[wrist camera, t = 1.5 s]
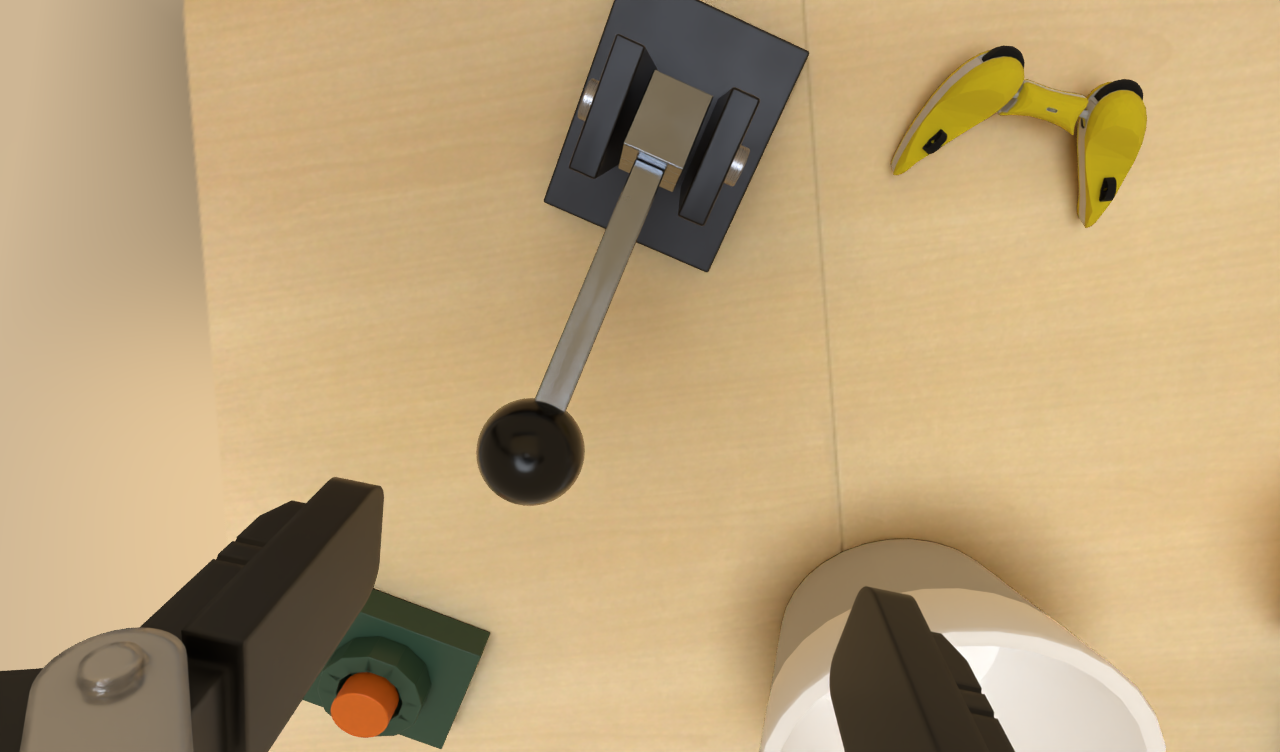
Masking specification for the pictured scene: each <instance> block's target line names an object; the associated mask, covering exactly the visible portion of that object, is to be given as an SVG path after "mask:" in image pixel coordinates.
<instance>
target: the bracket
mask: <svg viewBox="0 0 1280 752" xmlns="http://www.w3.org/2000/svg"><path fill="white" fill-rule="evenodd" d="M808 55H809V52H808V51H807V50H805V49H802V48H800V47H798V46H796V45H794V44H792V43H790V42H787V41H785V40H783V39H781V38H779V37H777V36H775V35H772V34H770V33H768V32H766V31H764V30H762V29H760V28H757V27H755V26H753V25H751V24H749V23H747V22H745V21H742V20H740V19H738V18H736V17H734V16H732V15H730V14H727V13H725V12H723V11H721V10H719V9H717V8H715V7H712V6H710V5H708V4H706V3H704V2H702V1H700V0H614V3H613V6H612V8H611V11H610V14H609V17H608V20H607V23H606V25H605V28H604V31H603V34H602V37H601V40H600V42H599V45H598V48H597V51H596V54H595V57H594V59H593V62H592V65H591V68H590V71H589V74H588V76H587V79H586V82H585V85H584V88H583V91H582V93H581V96H580V99H579V102H578V105H577V108H576V110H575V113H574V116H573V119H572V122H571V125H570V127H569V130H568V133H567V136H566V139H565V142H564V144H563V147H562V150H561V153H560V156H559V159H558V161H557V164H556V167H555V170H554V173H553V176H552V178H551V181H550V184H549V187H548V190H547V193H546V195H545V198H544V202H545V203H547V204H549V205H552V206H554V207H556V208H559V209H561V210H563V211H565V212H568V213H570V214H572V215H575V216H577V217H579V218H582V219H584V220H586V221H589V222H591V223H593V224H596V225H598V226H600V227H603V228H605V229H606V228H607V226H608V223H609V221H610V218H611V216H612V214H613V211H614V209H615V207H616V204H617V202H618V199H619V197H620V195H621V192H622V190H623V187H624V185H625V183H626V180H627V178H628V176H629V173H628V172H626V171H623V170H621V169H619V168H618V165H619V160H620V155H621V150H622V145H623V141H624V139H625V137H626V134H627V132H628V130H629V127H630V125H631V122H632V120H633V118H634V115H635V113H636V111H637V108H638V106H639V104H640V101H641V99H642V96H643V94H644V92H645V89H646V87H647V85H648V82H649V80H650V77H651V75H652V73H653V71H654V70H658V71H660V72H662V73H664V74H666V75H669V76H671V77H673V78H675V79H677V80H680V81H682V82H684V83H686V84H688V85H690V86H693V87H695V88H697V89H699V90H701V91H704V92H706V93H708V94H710V95H712V96H713V100H712V102H711V105H710V107H709V109H708V112H707V114H706V117H705V119H704V122H703V124H702V126H701V129H700V131H699V134H698V136H697V139H696V141H695V143H694V146H693V148H692V151H691V153H690V155H689V158H688V160H687V163H686V165H685V168H684V170H683V172H682V174H681V176H680V178H679V180H678V182H677V184H676V187H675V189H674V191H673V192H671V191H669V190H667V189H664V188H662V187H660V186H659V188H658V190H657V192H656V195H655V197H654V200H653V202H652V204H651V207H650V209H649V212H648V214H647V216H646V219H645V221H644V224H643V226H642V229H641V231H640V233H639V236H638V238H637V241H636V242H637V243H640V244H642V245H644V246H647V247H649V248H651V249H653V250H656V251H658V252H660V253H663V254H665V255H667V256H670V257H672V258H674V259H677V260H679V261H681V262H684V263H686V264H688V265H691V266H693V267H695V268H698V269H700V270H702V271H704V272H708V271H709V269H710V267H711V265H712V263H713V261H714V259H715V256H716V254H717V252H718V250H719V248H720V246H721V243H722V241H723V239H724V237H725V235H726V233H727V230H728V228H729V226H730V224H731V222H732V220H733V217H734V215H735V213H736V211H737V209H738V207H739V204H740V202H741V200H742V198H743V196H744V194H745V191H746V189H747V187H748V185H749V183H750V181H751V179H752V176H753V174H754V172H755V170H756V168H757V166H758V163H759V161H760V159H761V157H762V155H763V153H764V150H765V148H766V146H767V144H768V142H769V140H770V137H771V135H772V133H773V131H774V129H775V127H776V124H777V122H778V120H779V118H780V116H781V114H782V111H783V109H784V107H785V105H786V103H787V101H788V99H789V96H790V94H791V92H792V90H793V88H794V86H795V83H796V81H797V79H798V77H799V75H800V73H801V70H802V68H803V66H804V64H805V62H806V60H807V57H808Z"/></svg>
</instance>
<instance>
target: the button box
mask: <svg viewBox="0 0 1280 752" xmlns="http://www.w3.org/2000/svg"><path fill="white" fill-rule="evenodd" d="M489 635H490V632H487V631H484V630H482V629H479V628H476V627H474V626H471V625H468V624H466V623H463V622H460V621H458V620H455V619H452V618H450V617H447V616H444V615H442V614H439V613H436V612H434V611H431V610H428V609H426V608H423V607H420V606H418V605H415V604H412V603H410V602H407V601H404V600H402V599H399V598H396V597H394V596H391V595H388V594H386V593H383V592H380V591H378V590H375V589H373V590H372V592H371V594H370V596H369V598H368V600H367V602H366V604H365V605H364V607H363V608H362V610H361V611H360V613H359V614H358V616H357V617H356V619H355V620H354V622H353V623H352V625H351V626H350V628H349V630H348V631H347V633H346V634H345V636H344V637H343V639H342V640H341V642H340V643H339V645H338V646H337V648H336V649H335V651H334V652H333V654H332V655H331V657H330V658H329V660H328V661H327V663H326V664H325V666H324V667H323V669H322V671H321V672H320V674H319V675H318V677H317V678H316V680H315V681H314V683H313V684H312V686H311V687H310V689H309V690H308V692H307V693H306V695H305V696H304V698H303V699H302V700H305V701H308V702H310V703H313V704H316V705H319V706H322V707H324V709H325V711H326V712H327V713H328V714H329V715H330V716H331V705H332V703H333V701H334V699H335V698H336V696H337V694H338V693H339V691H340V690H341V688H342V686H343V685H344V683H345V681H346V680H347V679H348V678H349V677H350V676H352V675H354V674H356V673H360V672H370V673H373V674H376V675H379V676H381V677H384V678H386V679H387V680H388V681H389V682H390V683H391V684H392V685H394V686H395V687H396V689H397V691H398V694H399V703H398V705H397V707H396V709H395V711H394V713H393V715H392V718H391V720H390V722H389V724H388V726H387V728H386V729H385V730H384V731H383V732H382V733H380V734H379V735H377V736H394V735H397V734H400V735H403V736H405V737H408V738H411V739H414V740H417V741H419V742H422V743H425V744H428V745H431V746H433V747H436V748H439V749H442V747H443V745H444V742H445V740H446V738H447V735H448V733H449V731H450V728H451V726H452V723H453V721H454V719H455V716H456V714H457V712H458V709H459V707H460V705H461V702H462V700H463V698H464V695H465V693H466V691H467V688H468V686H469V684H470V681H471V679H472V677H473V674H474V672H475V669H476V667H477V665H478V662H479V660H480V658H481V655H482V653H483V650H484V647H485V645H486V642H487V640H488V637H489Z"/></svg>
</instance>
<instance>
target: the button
mask: <svg viewBox="0 0 1280 752" xmlns="http://www.w3.org/2000/svg"><path fill="white" fill-rule="evenodd" d="M398 703H399V694H398V691H397V689H396V687H395V686H394V685H392V684H391V683H390V682H389V681H388V680H387V679H386V678H384V677H381V676H379V675H376V674H373V673H370V672H360V673H356V674H354V675H352V676H350V677H349V678H348V679H347V680H346V681H345V683H344V685H343V686H342V688H341V690H340V691H339V693H338V694H337V696H336V698H335V699H334V701H333V703H332V705H331V716H332V718H333V720H334V722H335V723H336V725H337V726H338V727H339V728H341V729H342V730H343V731H345V732H346V733H348V734H351V735H353V736H357V737H363V738H368V737H374V736H377V735H379V734H380V733H382V732H383V731H384V730H385V729H386V728H387V726H388V724H389V722H390V720H391V718H392V715H393V713H394V711H395V709H396V707H397V705H398Z"/></svg>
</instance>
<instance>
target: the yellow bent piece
mask: <svg viewBox="0 0 1280 752" xmlns="http://www.w3.org/2000/svg"><path fill="white" fill-rule="evenodd" d="M996 112H998V114H999V115H1022V116H1031V117H1034V118H1038V119H1042V120H1046V121H1048V122H1051V123H1053V124H1055V125H1058V126H1060V127H1061V128H1063V129H1064V130H1066V131H1067V132H1069V133H1070V134H1072V135H1074V127H1075V124H1076V122H1077V119H1078V117H1079V121H1078V127H1077V162H1078V184H1079V197H1078V203H1077V214H1078V217H1079V219H1080V220H1081V222H1082V223H1083V225H1084V226H1085V228H1088V227H1090V226H1092V225H1093V224H1094V223H1096V221H1097V220H1098V219H1099V217H1100V216H1101V215H1102V213H1103V212H1104V211H1105V210H1106V208H1107V207H1108V206H1109V204H1110V203H1111V201H1112V200H1113V198H1114V197H1115V195H1116V193H1117V192H1118V190H1119V188H1120V186H1121V184H1122V182H1123V181H1124V179H1125V177H1126V175H1127V173H1128V172H1129V170H1130V168H1131V166H1132V165H1133V163H1134V161H1135V159H1136V157H1137V154H1138V152H1139V150H1140V147H1141V145H1142V142H1143V138H1144V135H1145V131H1146V123H1147V115H1146V107H1145V105H1144V103H1143V92H1142V89H1141V87H1140V86H1139V85H1138V84H1137V83H1136V82H1135V81H1132V80H1127V79H1122V80H1117V81H1114V82H1107V83H1104V84H1101V85H1100V86H1098V87H1097V88H1095V89H1093V90H1092V91H1091V93H1090V94H1089V95H1088V96H1087V97H1085V96H1083V95H1081V94H1076V93H1070V92H1064V91H1060V90H1056V89H1052V88H1049V87H1046V86H1043V85H1041V84H1038V83H1036V82H1033V81H1031V80H1028V79H1026V80H1024V59H1023V56H1022V53H1021V52H1020V51H1019V50H1018V49H1016V48H1015V47H1013V46H1000V47H996V48H994V49H992V50H989V51H986V52H983V53H980V54H978V55H976V56H975V57H973V58H971V59H969V60H968V61H967V62H965V63H964V64H963V65H961V66H960V67H959V68H957V69H956V70H955V71H954V72H953V73H952V74H951V75H950V76H949V77H948V78H947V79H946V80H945V81H944V82H943V83H942V84H941V85H940V86H939V87H938V89H937V90H936V91H935V92H934V93H933V95H932V96H931V97H930V99H929V100H928V101H927V103H926V104H925V105H924V107H923V108H922V109H921V111H920V112H919V113H918V115H917V116H916V117H915V119H914V121H913V122H912V124H911V125H910V127H909V129H908V130H907V132H906V134H905V135H904V137H903V139H902V141H901V143H900V144H899V146H898V148H897V150H896V153H895V155H894V157H893V159H892V162H891V167H892V171H893V174H894V175H899V174H902V173H904V172H906V171H907V170H908V169H910V168H911V167H912V166H913V165H914V164H915V163H917V162H918V161H920V160H921V159H923V158H925V157H926V156H928V155H929V154H931V153H934V152H935V151H937V150H938V149H939V148H940V147H942V146H943V145H945V144H947V143H948V142H950V141H951V140H953V139H955V138H956V137H958V136H959V135H961V134H963V133H964V132H966V131H967V130H969V129H971V128H972V127H974V126H975V125H977V124H979V123H980V122H982V121H984V120H985V119H987V118H989V117H990V116H992V115H993V114H994V113H996Z"/></svg>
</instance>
